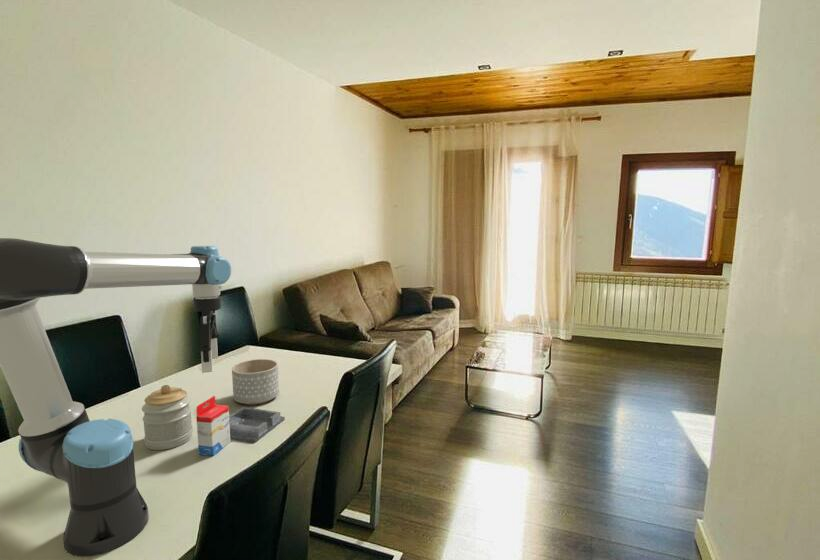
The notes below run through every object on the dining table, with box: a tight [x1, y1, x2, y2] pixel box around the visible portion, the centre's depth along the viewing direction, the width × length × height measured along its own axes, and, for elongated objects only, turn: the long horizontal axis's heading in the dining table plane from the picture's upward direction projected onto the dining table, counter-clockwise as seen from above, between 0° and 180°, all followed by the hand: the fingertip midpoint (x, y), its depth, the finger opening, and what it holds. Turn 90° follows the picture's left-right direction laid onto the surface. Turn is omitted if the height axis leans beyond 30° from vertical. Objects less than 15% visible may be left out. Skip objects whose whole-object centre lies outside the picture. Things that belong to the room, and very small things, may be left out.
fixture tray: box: [229, 406, 286, 444], centre depth 140 cm, size 16×15×4 cm
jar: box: [141, 384, 194, 451], centre depth 131 cm, size 13×13×18 cm
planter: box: [231, 358, 280, 406], centre depth 163 cm, size 16×16×13 cm
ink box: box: [195, 395, 231, 457], centre depth 126 cm, size 8×5×15 cm, turn 168°
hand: (210, 365), depth 132 cm, fingers open, 13 cm apart
